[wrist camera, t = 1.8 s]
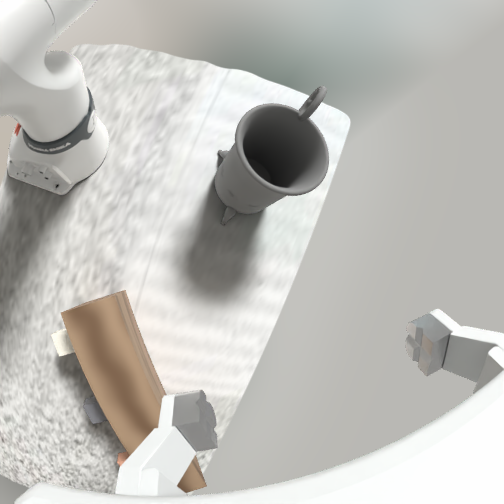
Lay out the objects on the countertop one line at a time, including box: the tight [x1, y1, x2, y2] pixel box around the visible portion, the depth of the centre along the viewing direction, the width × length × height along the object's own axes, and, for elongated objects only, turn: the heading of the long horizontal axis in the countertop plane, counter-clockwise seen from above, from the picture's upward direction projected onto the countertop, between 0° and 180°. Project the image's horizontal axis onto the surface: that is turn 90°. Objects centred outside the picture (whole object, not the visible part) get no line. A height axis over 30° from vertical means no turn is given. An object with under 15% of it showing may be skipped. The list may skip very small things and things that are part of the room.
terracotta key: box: [117, 451, 130, 466], centre depth 36 cm, size 6×4×3 cm, turn 109°
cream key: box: [51, 328, 75, 357], centre depth 35 cm, size 6×4×3 cm, turn 109°
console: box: [61, 290, 207, 493], centre depth 38 cm, size 8×33×14 cm, turn 19°
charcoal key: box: [83, 396, 108, 424], centre depth 35 cm, size 6×4×3 cm, turn 109°
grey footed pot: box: [215, 86, 329, 225], centre depth 42 cm, size 19×15×25 cm
